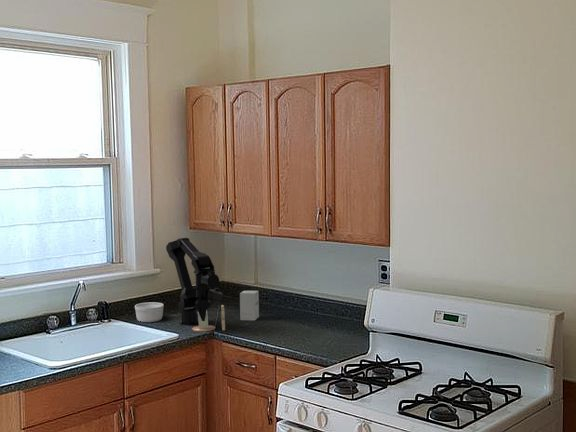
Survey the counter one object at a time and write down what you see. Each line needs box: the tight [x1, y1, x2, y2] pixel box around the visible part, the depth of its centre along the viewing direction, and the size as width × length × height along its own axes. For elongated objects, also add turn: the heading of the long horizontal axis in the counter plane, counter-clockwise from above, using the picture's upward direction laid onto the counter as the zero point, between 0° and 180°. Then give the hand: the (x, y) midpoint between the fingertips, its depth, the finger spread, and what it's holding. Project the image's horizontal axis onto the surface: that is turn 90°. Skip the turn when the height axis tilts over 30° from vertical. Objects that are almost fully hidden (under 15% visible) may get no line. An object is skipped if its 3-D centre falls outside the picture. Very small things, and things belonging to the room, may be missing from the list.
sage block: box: [197, 310, 209, 329], centre depth 327 cm, size 4×4×7 cm
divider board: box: [220, 304, 226, 331], centre depth 328 cm, size 10×1×9 cm, turn 6°
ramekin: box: [134, 301, 165, 323], centre depth 348 cm, size 13×13×7 cm
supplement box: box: [239, 290, 260, 321], centre depth 345 cm, size 7×7×13 cm
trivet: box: [191, 324, 216, 332], centre depth 327 cm, size 10×10×1 cm
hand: (203, 319), depth 327 cm, fingers open, 5 cm apart
